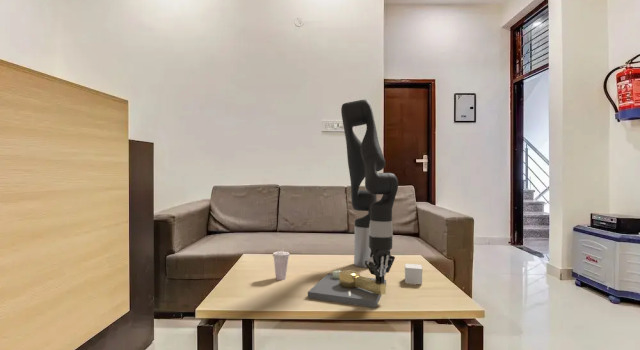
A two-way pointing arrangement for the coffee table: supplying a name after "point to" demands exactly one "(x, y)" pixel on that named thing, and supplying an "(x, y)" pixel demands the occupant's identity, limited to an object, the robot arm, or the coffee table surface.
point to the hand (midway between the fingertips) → (379, 286)
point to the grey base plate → (342, 292)
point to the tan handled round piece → (360, 282)
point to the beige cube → (413, 274)
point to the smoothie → (281, 263)
